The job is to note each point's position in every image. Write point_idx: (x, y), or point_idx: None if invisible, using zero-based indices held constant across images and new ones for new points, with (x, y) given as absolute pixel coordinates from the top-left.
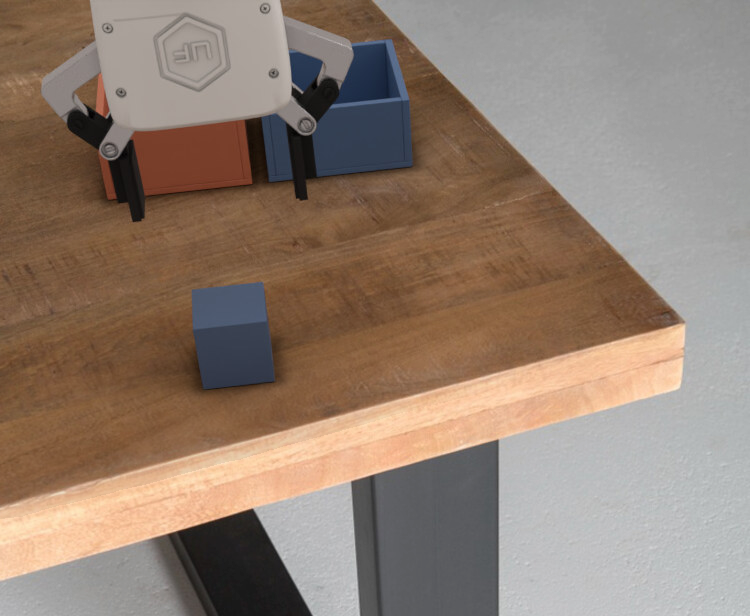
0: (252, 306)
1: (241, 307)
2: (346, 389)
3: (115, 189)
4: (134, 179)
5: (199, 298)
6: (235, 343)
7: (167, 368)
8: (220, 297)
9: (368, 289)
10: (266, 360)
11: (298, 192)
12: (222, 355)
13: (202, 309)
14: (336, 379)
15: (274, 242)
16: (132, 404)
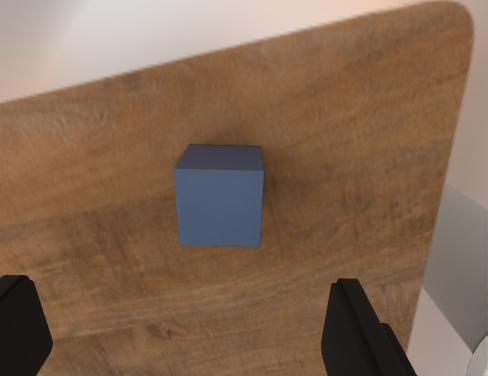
0: (191, 201)
1: (204, 201)
2: (116, 116)
3: (400, 347)
4: (367, 357)
5: (252, 228)
6: (217, 160)
7: (292, 188)
8: (227, 225)
9: (102, 263)
10: (190, 151)
11: (13, 287)
12: (235, 156)
13: (249, 207)
14: (127, 135)
15: (186, 337)
16: (331, 138)
